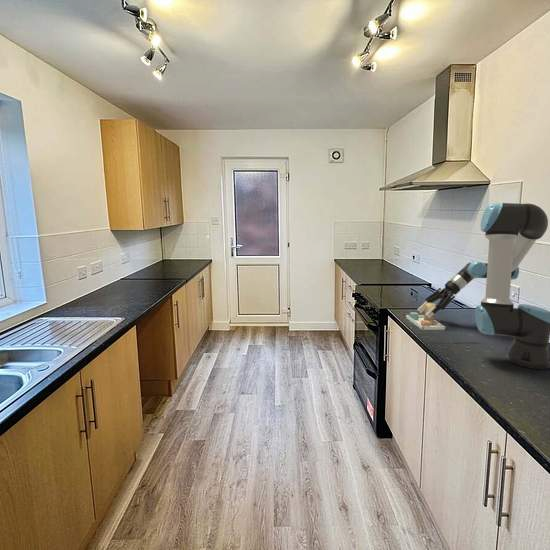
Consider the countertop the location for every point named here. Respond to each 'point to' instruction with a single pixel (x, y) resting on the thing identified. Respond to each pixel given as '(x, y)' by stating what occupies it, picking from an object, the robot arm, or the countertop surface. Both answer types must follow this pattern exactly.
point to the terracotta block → (425, 323)
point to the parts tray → (433, 327)
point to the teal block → (414, 315)
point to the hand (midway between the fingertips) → (423, 313)
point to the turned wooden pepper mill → (427, 308)
